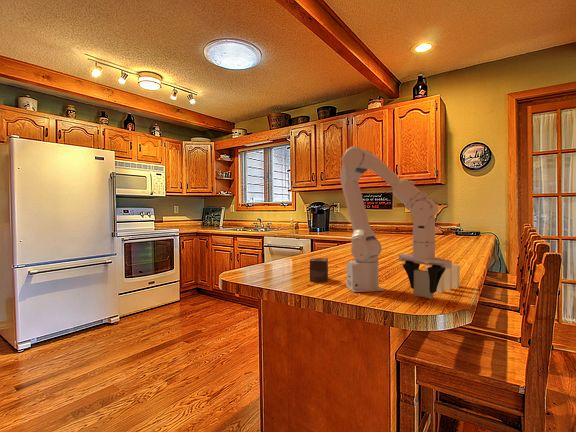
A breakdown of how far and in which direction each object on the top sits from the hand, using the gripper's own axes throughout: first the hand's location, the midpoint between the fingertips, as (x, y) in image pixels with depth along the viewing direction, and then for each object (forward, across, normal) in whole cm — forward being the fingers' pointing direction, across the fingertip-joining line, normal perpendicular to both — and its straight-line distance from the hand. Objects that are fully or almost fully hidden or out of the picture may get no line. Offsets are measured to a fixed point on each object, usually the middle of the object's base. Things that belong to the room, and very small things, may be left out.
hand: (423, 290), depth 87 cm
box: (+3, +34, +8) cm, 35 cm away
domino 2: (+2, +2, -10) cm, 10 cm away
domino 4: (+2, +2, -20) cm, 20 cm away
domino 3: (+2, +2, -15) cm, 15 cm away
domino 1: (+2, 0, 0) cm, 2 cm away
